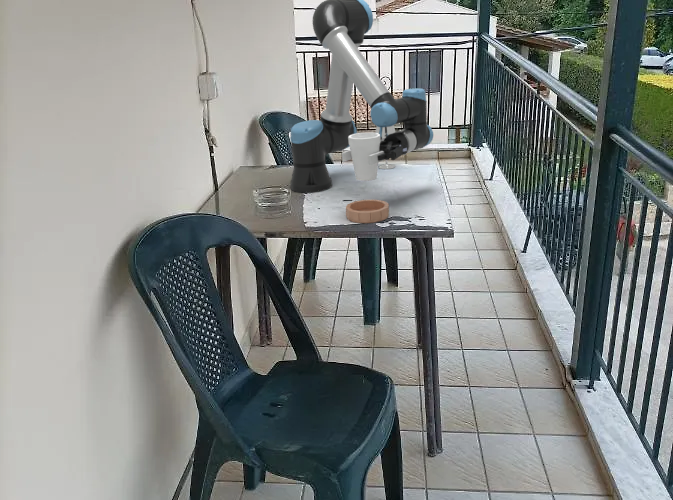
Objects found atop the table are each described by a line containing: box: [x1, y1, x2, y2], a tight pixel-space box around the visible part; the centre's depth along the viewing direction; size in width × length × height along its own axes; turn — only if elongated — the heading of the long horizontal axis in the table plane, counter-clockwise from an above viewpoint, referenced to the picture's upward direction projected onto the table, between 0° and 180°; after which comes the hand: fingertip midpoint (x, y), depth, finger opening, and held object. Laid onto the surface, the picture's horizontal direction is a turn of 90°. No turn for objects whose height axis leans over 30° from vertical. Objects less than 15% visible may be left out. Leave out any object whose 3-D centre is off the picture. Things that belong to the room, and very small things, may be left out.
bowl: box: [345, 199, 390, 224], centre depth 197 cm, size 13×13×3 cm
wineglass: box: [375, 125, 396, 170], centre depth 250 cm, size 8×8×18 cm
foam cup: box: [348, 132, 381, 182], centre depth 191 cm, size 10×9×13 cm
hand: (356, 158), depth 187 cm, fingers closed on foam cup, 9 cm apart
